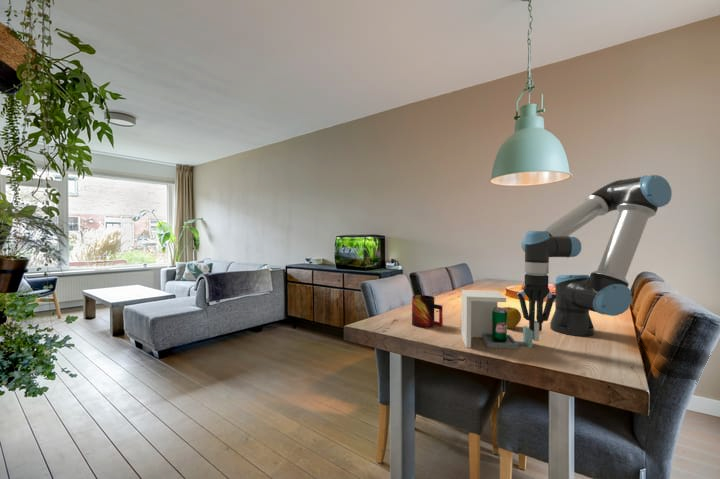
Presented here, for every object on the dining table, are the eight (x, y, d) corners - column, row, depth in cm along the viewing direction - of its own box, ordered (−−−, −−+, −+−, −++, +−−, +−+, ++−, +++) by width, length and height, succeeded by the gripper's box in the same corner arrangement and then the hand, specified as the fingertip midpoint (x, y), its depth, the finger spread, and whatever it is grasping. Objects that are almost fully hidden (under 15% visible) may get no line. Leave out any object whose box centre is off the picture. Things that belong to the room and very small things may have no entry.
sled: (524, 340, 123) (524, 324, 123) (534, 350, 112) (534, 332, 112) (482, 338, 125) (482, 322, 125) (487, 347, 115) (488, 330, 115)
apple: (514, 324, 144) (514, 304, 143) (525, 330, 135) (525, 309, 134) (494, 324, 143) (494, 304, 143) (503, 330, 134) (504, 309, 134)
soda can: (496, 343, 116) (496, 310, 116) (489, 339, 122) (489, 307, 121) (509, 343, 117) (510, 310, 117) (502, 338, 122) (502, 306, 122)
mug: (442, 330, 136) (442, 301, 135) (409, 326, 141) (409, 298, 141) (445, 323, 145) (445, 296, 144) (414, 320, 150) (414, 294, 150)
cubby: (496, 337, 126) (497, 291, 125) (505, 349, 113) (506, 297, 112) (461, 335, 128) (461, 290, 127) (466, 347, 115) (466, 296, 115)
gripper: (551, 273, 119) (550, 337, 120) (513, 272, 121) (512, 335, 122) (560, 275, 112) (559, 344, 112) (520, 274, 114) (519, 342, 114)
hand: (535, 339), depth 117 cm, fingers closed
